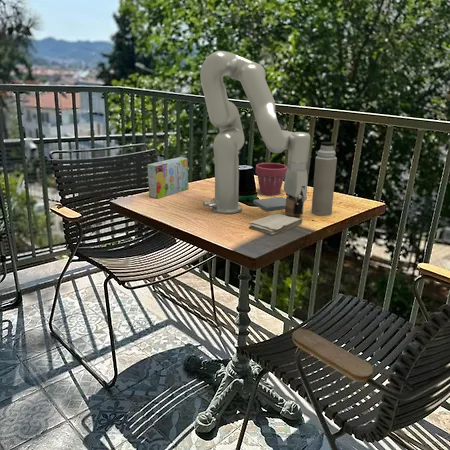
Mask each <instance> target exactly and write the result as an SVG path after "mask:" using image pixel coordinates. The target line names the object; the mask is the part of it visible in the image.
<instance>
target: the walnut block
mask: <svg viewBox="0 0 450 450" xmlns="http://www.w3.org/2000/svg"><path fill="white" fill-rule="evenodd" d="M285 199H286V205H285V209H284V212H285V213H284V214H287V215H288V216H289V217H297V216H303V213H304V204H305V202H304V203H303V205H302V213H301V214H294V206H295V204H296V200H295V197H289V198H287V197H285ZM299 199H300V198H298V200H299Z"/></svg>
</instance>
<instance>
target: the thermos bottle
mask: <svg viewBox="0 0 450 450" xmlns="http://www.w3.org/2000/svg"><path fill="white" fill-rule="evenodd" d="M334 146H335V142H331V141H324V142H323V141H321V143H320V149H319V150H318V151H317V156H315V159H314V160H315V162H314V173H313V174H314V175H313V188H312V199H311V214H313V215H315V216H321V217H322V216H323V217H325V216H331V215H332V213H333V202H334V194H335V191H334V190H335V184H336V183H335V182H336V174H337V172H336V171H337V163H338V161H337V160H338V158H337V157H336V154H337V153H336V151H335V150H334V148H335V147H334Z"/></svg>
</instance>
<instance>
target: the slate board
mask: <svg viewBox="0 0 450 450" xmlns="http://www.w3.org/2000/svg"><path fill="white" fill-rule="evenodd" d="M252 203H253V204H254V205H255V206H256V207H258V208H260V209H262V210H263V211H264V212H272V211H273V212H274V211H283V210H285V205H286V197H283V196H277V197H269V198H260V199H253V202H252Z"/></svg>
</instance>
